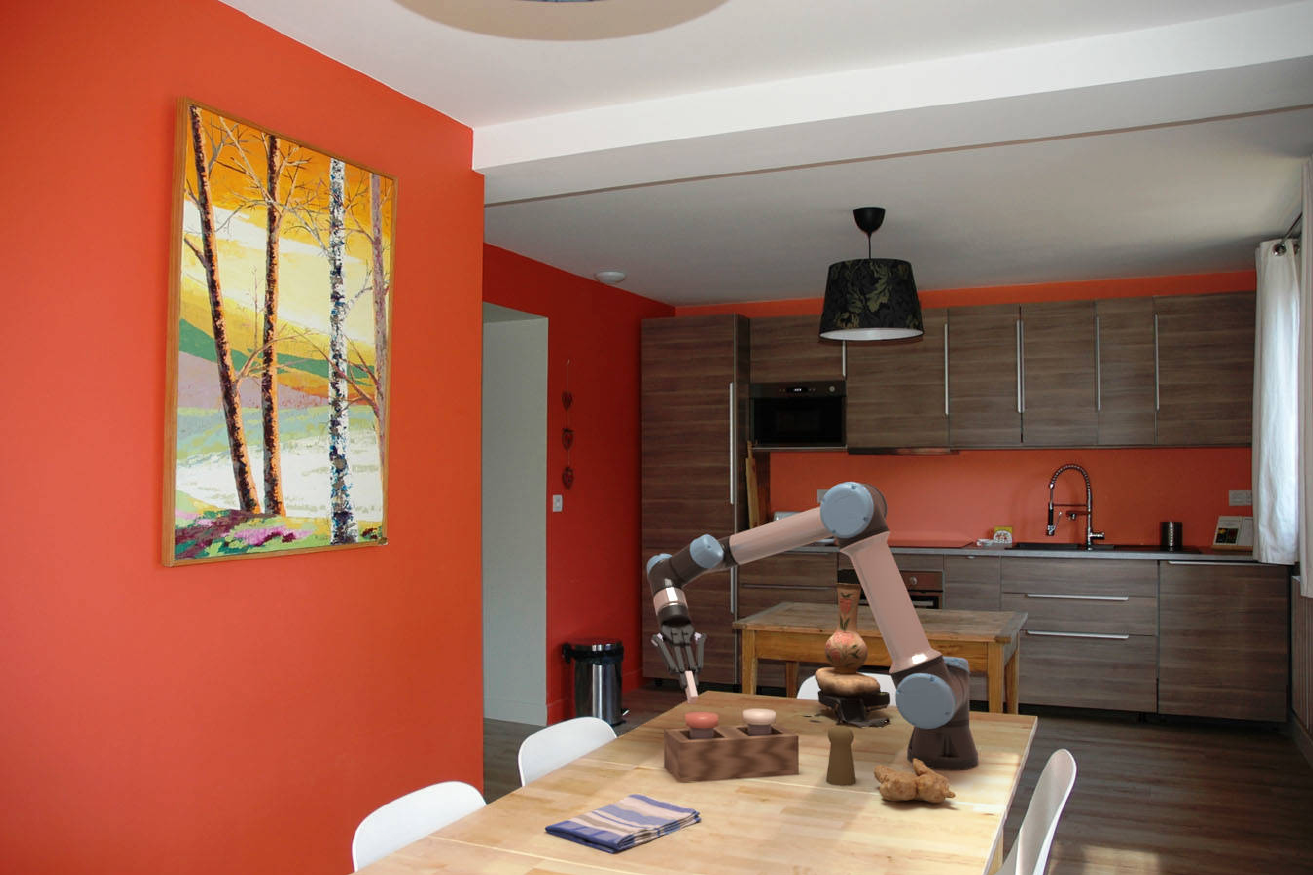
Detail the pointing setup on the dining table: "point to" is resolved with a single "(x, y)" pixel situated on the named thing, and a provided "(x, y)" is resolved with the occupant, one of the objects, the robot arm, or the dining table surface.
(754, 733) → the ivory button
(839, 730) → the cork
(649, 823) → the dish towel
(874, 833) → the dining table surface
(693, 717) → the red button
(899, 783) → the ginger root
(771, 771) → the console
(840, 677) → the vase
